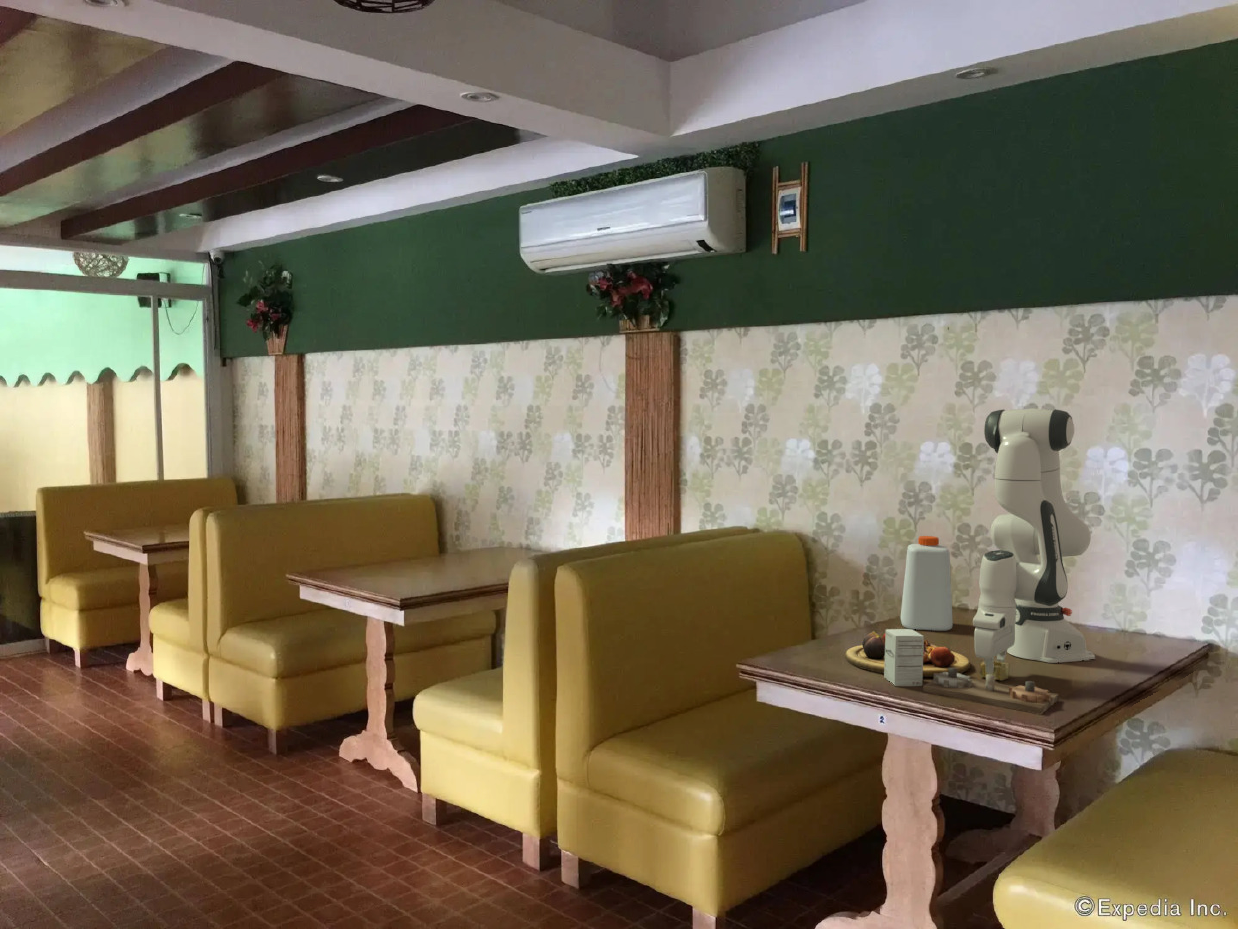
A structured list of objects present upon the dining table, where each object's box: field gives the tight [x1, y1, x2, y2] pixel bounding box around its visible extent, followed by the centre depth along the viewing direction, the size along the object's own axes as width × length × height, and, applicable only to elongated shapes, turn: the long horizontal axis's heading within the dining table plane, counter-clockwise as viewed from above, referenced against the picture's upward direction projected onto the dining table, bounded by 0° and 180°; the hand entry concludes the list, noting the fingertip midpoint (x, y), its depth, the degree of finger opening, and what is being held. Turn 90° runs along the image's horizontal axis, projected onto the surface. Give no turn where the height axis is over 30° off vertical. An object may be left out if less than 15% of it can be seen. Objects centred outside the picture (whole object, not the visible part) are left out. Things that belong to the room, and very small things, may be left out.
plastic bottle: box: [900, 535, 953, 632], centre depth 310 cm, size 15×15×28 cm
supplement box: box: [883, 628, 925, 687], centre depth 246 cm, size 7×7×13 cm
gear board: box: [922, 668, 1059, 715], centre depth 235 cm, size 14×27×5 cm, turn 52°
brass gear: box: [979, 660, 1010, 681], centre depth 251 cm, size 6×6×3 cm
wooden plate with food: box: [845, 630, 971, 678], centre depth 265 cm, size 32×32×8 cm
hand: (995, 669), depth 251 cm, fingers closed on brass gear, 6 cm apart
